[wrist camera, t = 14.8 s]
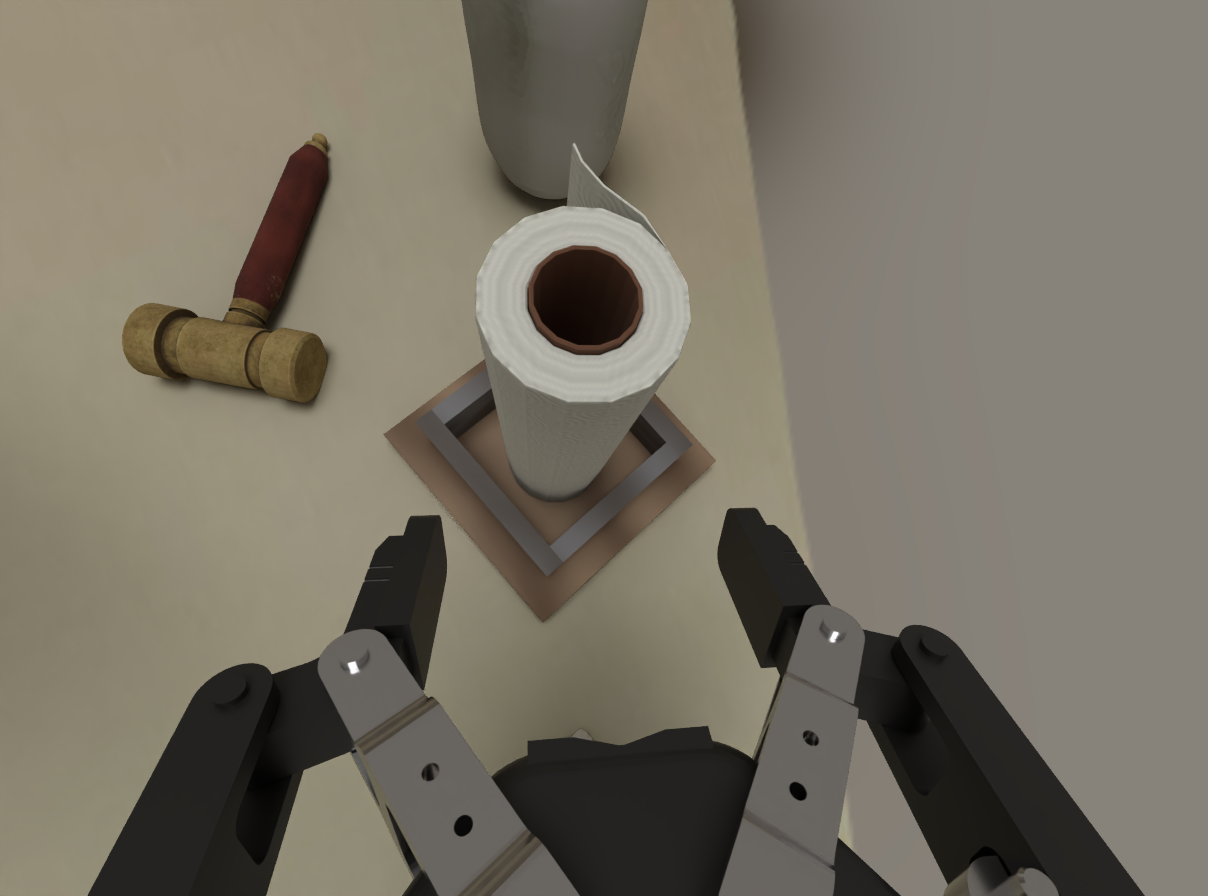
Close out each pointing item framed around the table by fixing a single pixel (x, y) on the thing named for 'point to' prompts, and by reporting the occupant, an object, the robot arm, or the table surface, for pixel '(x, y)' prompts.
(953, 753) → the robot arm
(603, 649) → the table surface
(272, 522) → the table surface
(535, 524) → the socket board
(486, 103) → the glass bottle
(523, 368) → the paper towel roll
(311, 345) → the gavel
